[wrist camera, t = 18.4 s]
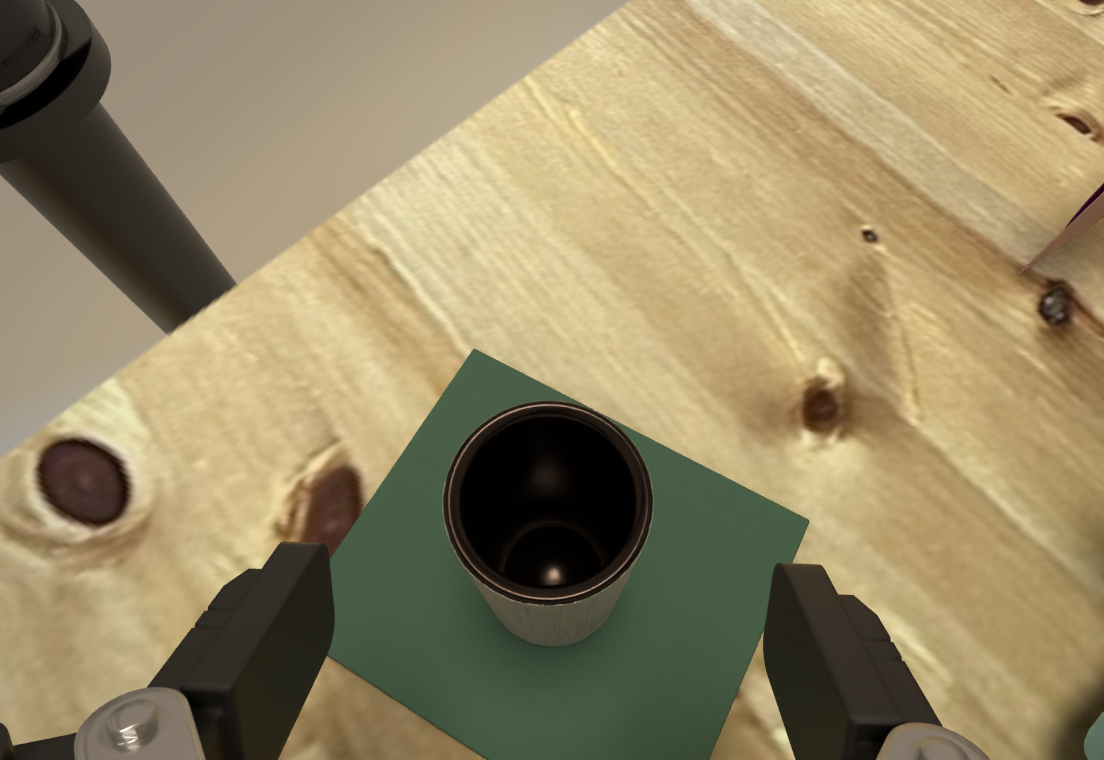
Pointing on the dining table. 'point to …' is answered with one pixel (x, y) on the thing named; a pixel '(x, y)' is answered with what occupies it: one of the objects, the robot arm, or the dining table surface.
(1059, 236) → the greeting card
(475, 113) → the dining table surface
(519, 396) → the green mat
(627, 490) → the planter
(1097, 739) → the teapot
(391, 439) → the dining table surface
